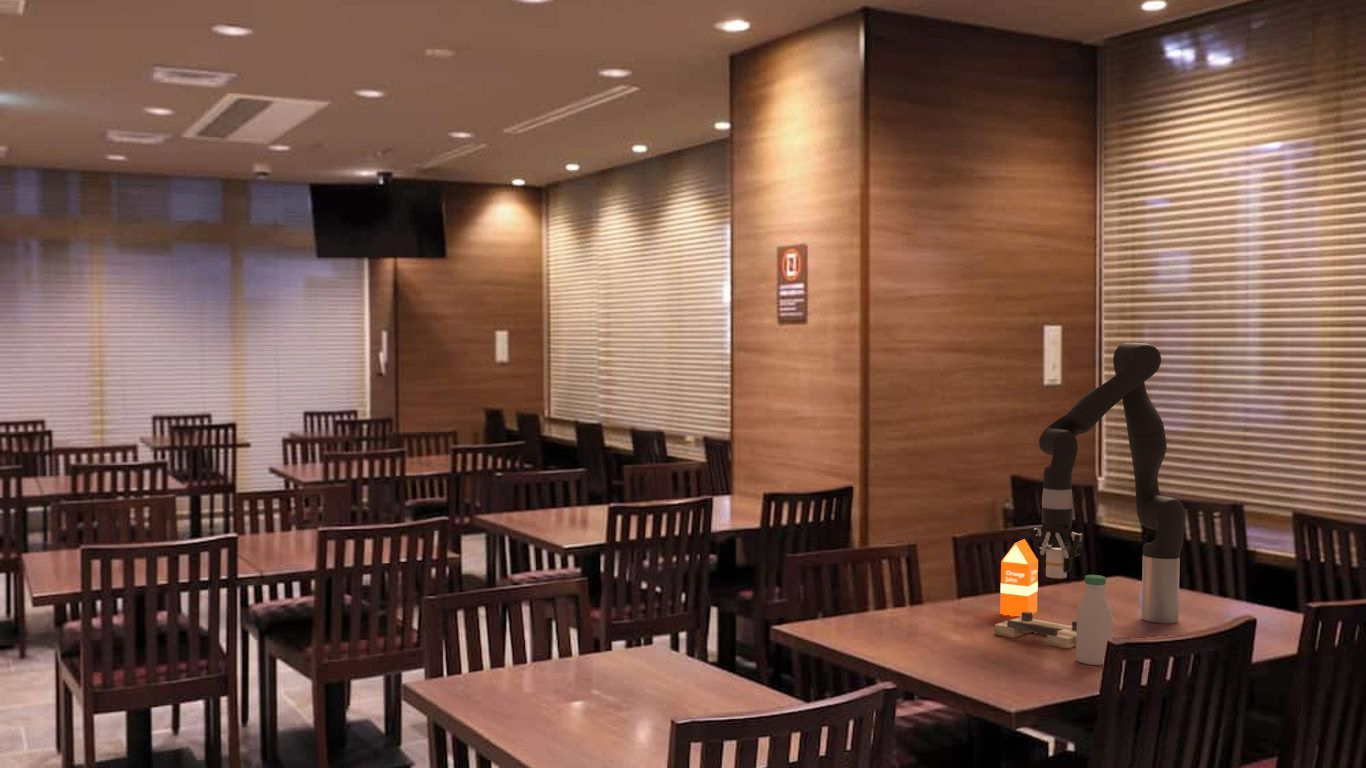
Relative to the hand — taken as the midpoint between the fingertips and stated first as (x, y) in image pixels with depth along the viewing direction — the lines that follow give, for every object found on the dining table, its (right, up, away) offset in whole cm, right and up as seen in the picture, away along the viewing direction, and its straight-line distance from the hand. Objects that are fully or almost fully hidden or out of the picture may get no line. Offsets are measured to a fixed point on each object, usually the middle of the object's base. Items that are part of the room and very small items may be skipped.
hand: (1056, 570), depth 315 cm
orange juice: (-5, -15, +17) cm, 23 cm away
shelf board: (-6, -15, -10) cm, 19 cm away
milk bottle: (-2, -16, -33) cm, 37 cm away
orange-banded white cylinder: (0, -2, 0) cm, 2 cm away
